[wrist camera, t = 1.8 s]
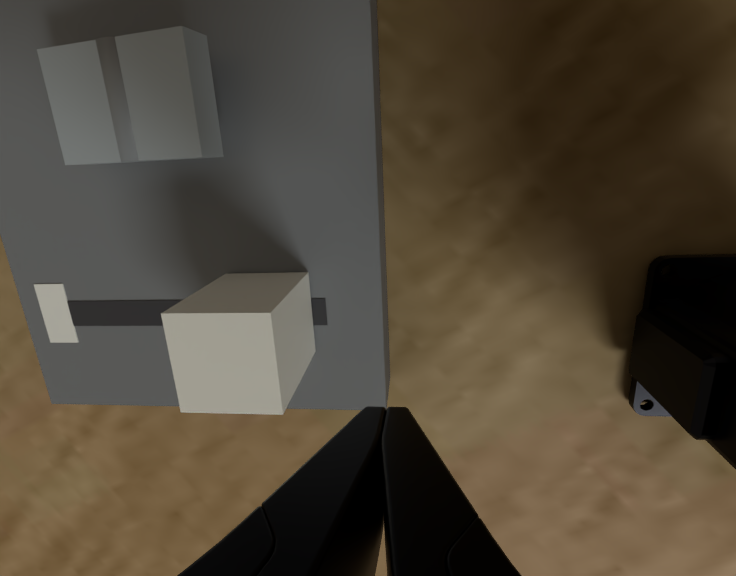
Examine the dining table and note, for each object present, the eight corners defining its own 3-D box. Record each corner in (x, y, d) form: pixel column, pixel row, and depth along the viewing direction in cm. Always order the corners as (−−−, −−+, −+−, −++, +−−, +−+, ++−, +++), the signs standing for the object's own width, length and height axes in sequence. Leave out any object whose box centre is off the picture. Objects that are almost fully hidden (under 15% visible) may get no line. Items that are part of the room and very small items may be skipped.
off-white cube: (308, 272, 15) (270, 312, 11) (315, 351, 15) (282, 414, 12) (225, 273, 15) (161, 313, 11) (237, 350, 16) (180, 412, 12)
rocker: (208, 36, 12) (179, 24, 11) (225, 156, 13) (199, 157, 12) (72, 57, 13) (32, 48, 12) (95, 164, 14) (62, 165, 13)
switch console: (365, -317, 12) (350, -453, 9) (390, 377, 18) (385, 415, 16) (-67, -239, 14) (-184, -335, 11) (95, 374, 20) (45, 407, 17)
